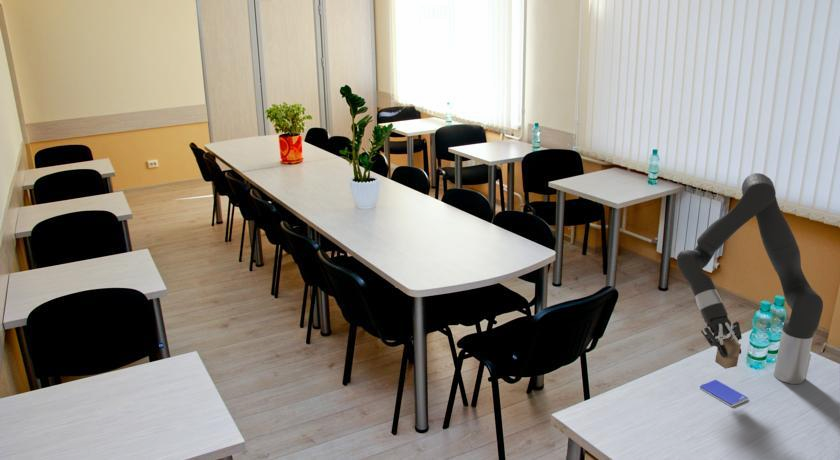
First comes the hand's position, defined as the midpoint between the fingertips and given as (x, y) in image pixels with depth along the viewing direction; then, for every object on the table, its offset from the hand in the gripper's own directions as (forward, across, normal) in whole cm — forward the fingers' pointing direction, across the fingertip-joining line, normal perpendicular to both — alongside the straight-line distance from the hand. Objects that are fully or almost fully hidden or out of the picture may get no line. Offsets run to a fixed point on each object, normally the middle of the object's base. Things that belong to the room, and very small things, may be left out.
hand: (732, 355), depth 221 cm
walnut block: (+2, 0, +4) cm, 5 cm away
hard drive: (+10, +1, +12) cm, 16 cm away
